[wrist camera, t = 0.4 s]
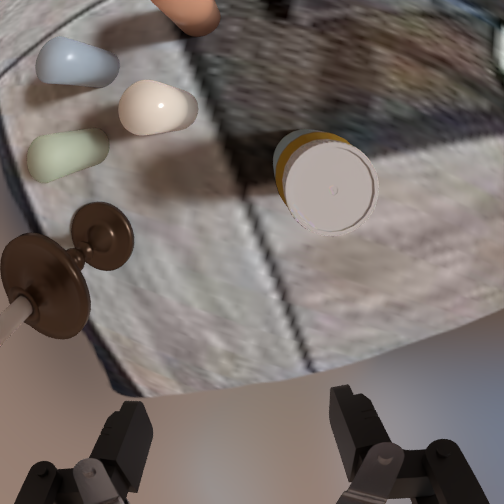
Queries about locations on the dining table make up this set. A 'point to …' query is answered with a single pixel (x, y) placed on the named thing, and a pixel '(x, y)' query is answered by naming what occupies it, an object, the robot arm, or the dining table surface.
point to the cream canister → (156, 108)
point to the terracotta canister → (191, 15)
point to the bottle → (325, 182)
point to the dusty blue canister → (76, 64)
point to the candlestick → (61, 272)
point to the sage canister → (66, 153)
